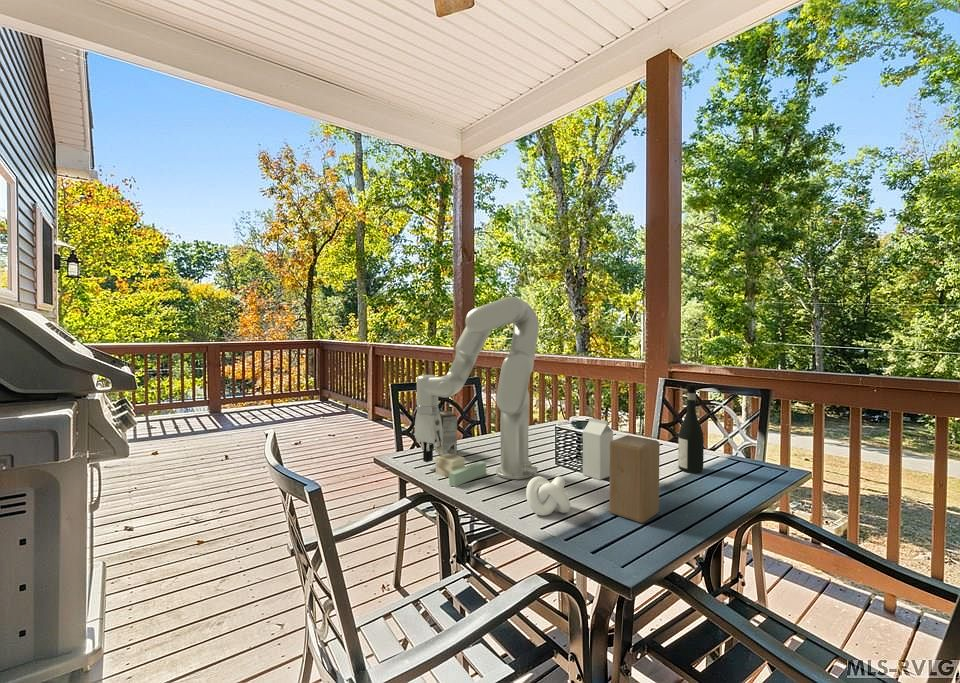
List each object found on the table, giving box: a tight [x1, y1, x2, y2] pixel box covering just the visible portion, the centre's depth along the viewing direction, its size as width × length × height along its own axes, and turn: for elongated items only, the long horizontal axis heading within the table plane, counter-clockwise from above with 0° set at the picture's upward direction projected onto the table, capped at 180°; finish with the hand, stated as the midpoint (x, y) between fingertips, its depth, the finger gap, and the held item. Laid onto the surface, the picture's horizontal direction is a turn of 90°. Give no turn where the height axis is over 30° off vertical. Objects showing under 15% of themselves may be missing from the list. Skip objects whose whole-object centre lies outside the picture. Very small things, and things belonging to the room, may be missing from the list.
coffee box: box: [434, 410, 458, 456], centre depth 182 cm, size 9×6×16 cm
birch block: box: [435, 453, 466, 479], centre depth 157 cm, size 8×6×6 cm
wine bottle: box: [677, 383, 705, 474], centre depth 159 cm, size 8×8×30 cm
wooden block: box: [608, 434, 660, 524], centre depth 123 cm, size 10×10×20 cm
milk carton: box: [582, 417, 614, 481], centre depth 155 cm, size 7×7×19 cm
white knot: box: [525, 475, 571, 517], centre depth 126 cm, size 11×12×9 cm
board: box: [448, 460, 487, 488], centre depth 152 cm, size 2×16×4 cm, turn 141°
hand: (428, 460), depth 163 cm, fingers closed
